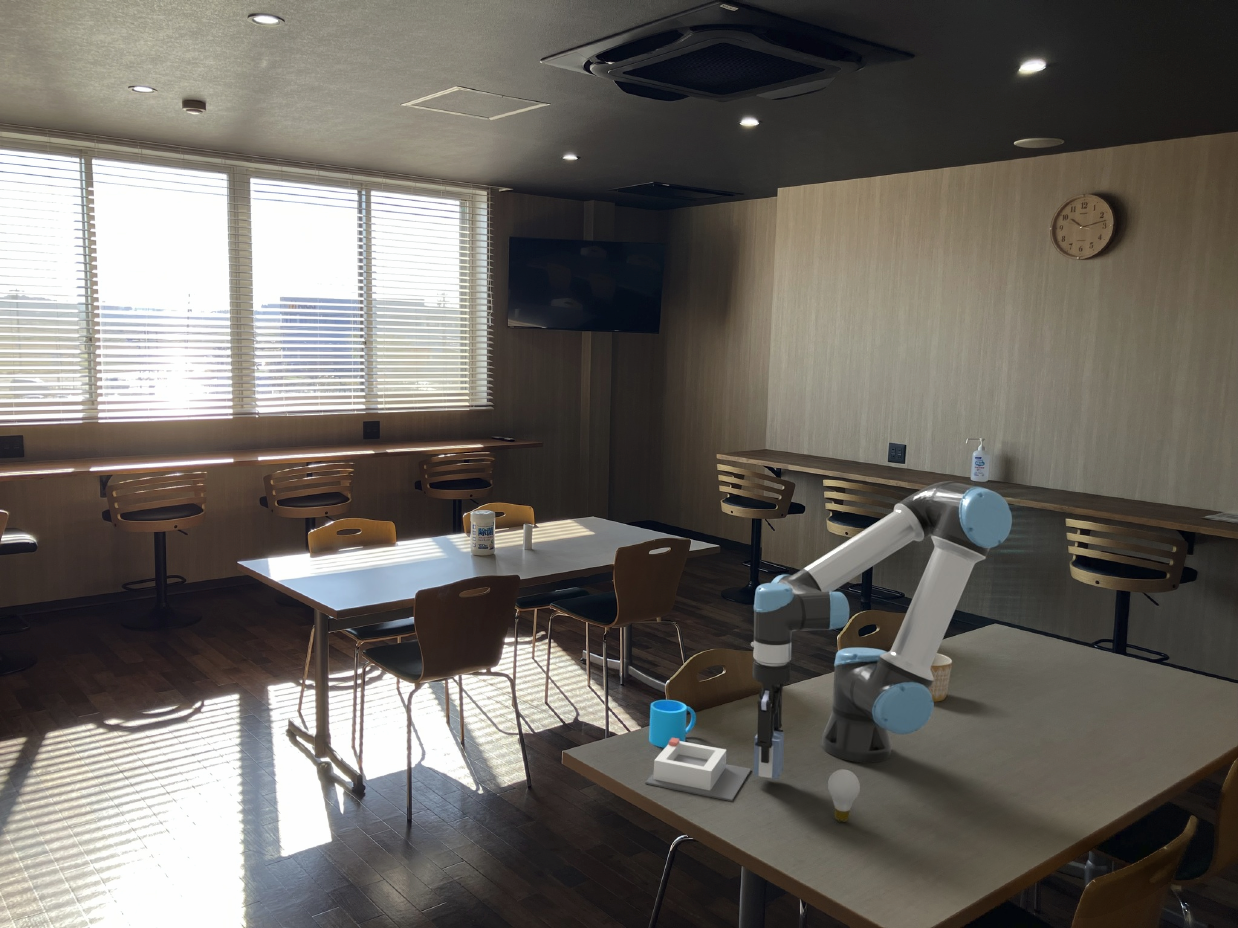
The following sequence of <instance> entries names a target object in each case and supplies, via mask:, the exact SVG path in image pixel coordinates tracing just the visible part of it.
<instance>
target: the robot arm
mask: <svg viewBox="0 0 1238 928" xmlns="http://www.w3.org/2000/svg"><path fill="white" fill-rule="evenodd" d="M1012 523H1013V516H1012V512H1011V510H1010V507H1009V504H1008V502H1007V501H1006V499H1005V498H1004V497H1003V496H1002V495H1001V494H1000V493H998V492H996V491H993V490H990V489H988V488H984V487H982V486H975V485H971V484H965V483H960V482H958V481H957V482H956V481H952V480H951V481H941V482H936V483H933V484H931V485H928V486H926V487H924V488H922V489H920V490H918V491H916V492H914V493H912V494H910V495H909V496H908V497H905V498H904V499H902V500H901V501H899V502H898V503H896V504H894V507H893V511H892V512H891V513H889V514H887V515H886V516H885V517H883V518H881V519H880V520H878V521H877V522H875V523H873V524H872V525H870V526H869V527H866V528H865V529H864V530H863V531H861V532H859V533H857V534H856V535H854V536H853V537H851V538H850V539H848V540H846V541H845V542H843V543H842V544H840V545H838V546H837V547H836V548H834V549H832V550H831V551H829V552H828V553H826V554H824V555H822V556H821V557H819V558H818V559H816V560H815V561H813V562H812V563H810V564H808V565H806V567H804V568H802V569H800V570H799V571H797V572H796V573H794V574H781V575H777V576H776V577H775V578H773V580H772V581H771V582H767V583H761V584H760V585H758V586H757V587H756V589H755V595H754V602H753V603H754V604H753V612H754V613H753V616H754V617H753V625H754V626H753V641H752V642H751V643H750V646H751V647H752V648H753V654H752V655H753V659H754V660H753V661H752V678H753V679H754V680H755V681H756V682H759V683H760V684H761V685H762V686H761V688H760V689H759V693H758V699H757V702H756V703H757V733H756V735H757V742H756V743H755V742H754V744H755V745H756V746H758V747H759V776H758V777H762V778H766V779H767V778H768V779H772V775H773V746H772V738H773V725H774V731H778V732H784V729H781V728H782V727H783V725H782V724H783V723H782V721H783V720H782V717H783V716H782V715H783V691H784V689H783V688H784V684H787V683H788V682H789V681H790V680H791V663H790V661H791V660H792V633H793V632H802V631H825V630H827V631H831V630H836V629H842V628H844V627H845V626H846V625H847V624H848V622H849V618H850V605H849V601H848V599H847V597H846V596H845V594H844V593H843V592H841V591H835V590H836V589H838V588H840V587H842V586H843V585H846V584H847V583H848V582H849V581H851V580H853V579H854V578H856V577H858V576H859V575H860V574H862V573H864V572H865V571H867V570H869V569H870V568H871V567H873V566H875V565H876V564H878V563H880V562H881V561H883V560H884V559H885V558H887V557H889V556H891V555H892V554H894V553H895V552H897V551H898V550H900V549H902V548H903V547H905V546H906V545H908V544H910V543H911V542H913V541H916V542H921V541H924V539H925V540H926V538H928V537H930V538H931V540H932V542H933V545H934V546H933V547H934V548H933V550H932V553H931V555H930V557H929V560H928V563H927V565H926V567H925V569H924V572H923V574H922V576H921V578H920V580H919V584H918V586H917V588H916V590H915V592H914V595H913V597H912V599H911V602H910V604H909V606H908V609H907V611H906V613H905V616H904V619H903V621H902V623H901V626H900V627H899V630H898V633H897V635H896V636H895V639H894V642H893V644H892V647H891V648H890V650H889V651H886V650H883V649H879V648H872V647H871V648H870V647H846V648H842V649H839V650H838V651H837V652H836V653H835V660H834V664H833V666H834V667H833V668H834V670H833V671H834V672H833V687H832V688H833V689H832V690H833V691H832V706H831V707H832V709H831V714H830V715H829V719H828V721H827V724H826V726H825V728H824V731H823V733H822V736H821V738H822V739H821V747H822V749H823V750H824V751H825V752H826V753H828V754H830V755H831V756H834V757H836V758H838V759H841V760H845V761H850V762H856V763H879V762H882V761H885V760H888V759H889V758H890V757H891V754H892V741H891V738H890V734H889V732H890V733H893V734H895V735H896V734H897V735H909V734H912V733H913V732H917V731H919V730H920V729H922V728H923V727H924V726H925V725H926V724H927V723H928V721H929V720H930V718H931V717H932V714H933V712H934V706H935V705H934V704H935V702H933V700H932V695H931V693H930V692H929V690H930V687H931V685H932V682H933V680H934V678H933V675H932V673H931V670H930V667H931V665H932V663H933V660H934V658H935V656H936V653H938V652H939V648H940V646H941V644H942V641H943V639H944V636H945V635H946V632H947V630H948V628H949V625H950V622H951V621H952V618H953V615H954V613H955V611H956V608H957V606H958V605H959V601H960V599H961V597H962V594H963V592H964V590H965V588H966V585H967V583H968V580H969V578H970V576H971V573H972V571H973V569H974V566H975V564H976V563H978V562H980V561H984V560H986V558H987V556H988V553H989V551H990V549H991V548H994V547H997V546H998V545H999V544H1002V543H1003V542H1004V541H1006V539H1007V538H1008V536H1009V534H1010V531H1011V529H1012Z"/></svg>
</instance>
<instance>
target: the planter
mask: <svg viewBox="0 0 1238 928" xmlns="http://www.w3.org/2000/svg"><path fill="white" fill-rule="evenodd" d="M952 664H953V660H952V659H951V658H950V657H949V656H947V655H944V654H942V653H938V652H937V653H936V656H935V658H934V660H933V663H932V665H931V667H930V670H931V673H932V675H933V678H934V680H933V682H932V685H931V687H930V690H929V692H930V693H931V695H932V700H933V702H934V703H937V702H941V701H943V700H945V699H946V698H947V694H948V693H947V692H948V688H949V682H950V676H951V671H952Z"/></svg>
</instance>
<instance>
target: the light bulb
mask: <svg viewBox="0 0 1238 928" xmlns="http://www.w3.org/2000/svg"><path fill="white" fill-rule="evenodd" d="M827 789H828V792H829V794H830V797H831V798H832V801H833V806H834V818H835V819H836V820H837V821H838V822H839V823H844V822H845V823H846V822H847V821H848V820H849V819H850V813H851V808H852V806H853V803H854V802H855V800H856V799H857V798H858V796H859V794H860V790H861V784H860V780H859V778H858V777H857V775H856V774H855V773H854V772H853V771H851V770H848V769H837V770H835V771H834V772H833V773H832V774H831V775H830V776H829V778H828V782H827Z"/></svg>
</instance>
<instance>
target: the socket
mask: <svg viewBox="0 0 1238 928" xmlns="http://www.w3.org/2000/svg"><path fill="white" fill-rule="evenodd" d="M751 770H752V769H751V768H749V767H744V766H739V765H738V766H737V765H733V764H727V749H726V748H720V747H714V746H708V745H704V744H703V745H702V744H698V743H693V742H686V741H685V742H682V741H679V739H678V738H671V740H670V741H669V744H668V745H667V746H666V748H663V750H662V751H661V752H660V753H659V754H658V755H657V757H656V758H655V759H654V761H653V772H652V774H651V775H650V776H649V777H648V778H647V779H646V781H645V783H644V784H645V785H649V786H653V787H654V786H655V787H660V788H664V789H670V790H673V791H679V792H684V793H688V794H689V793H690V794H695V795H699V796H703V797H707V798H713V799H718V800H722V801H723V800H724V801H728V802H733V801H734V799H735V797H736V796H737V794H738V792H739V791H740V790H741V788H742V785H743V784H744V783H745V781H746V779H747V778H748V777H749V775H750V773H751Z"/></svg>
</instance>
